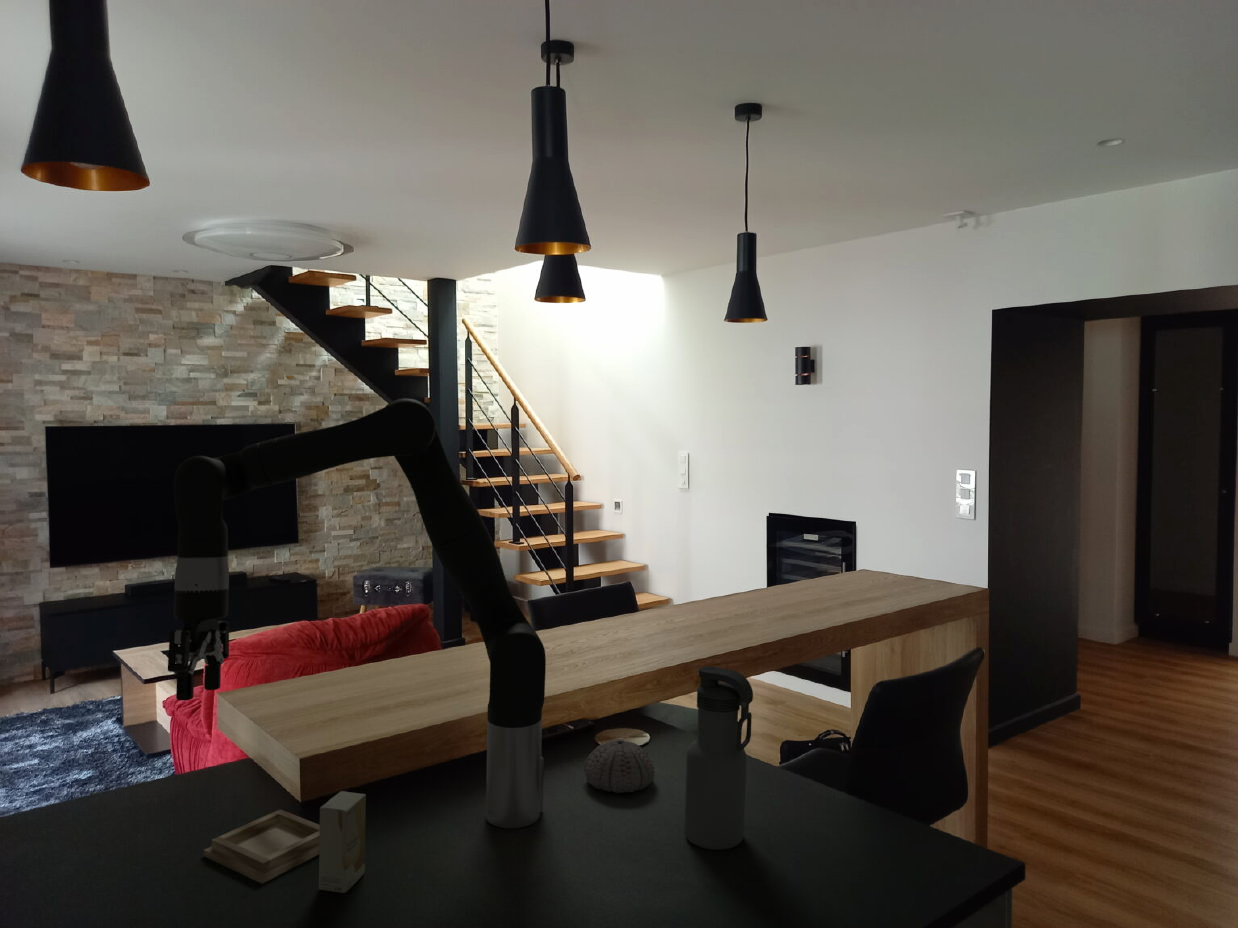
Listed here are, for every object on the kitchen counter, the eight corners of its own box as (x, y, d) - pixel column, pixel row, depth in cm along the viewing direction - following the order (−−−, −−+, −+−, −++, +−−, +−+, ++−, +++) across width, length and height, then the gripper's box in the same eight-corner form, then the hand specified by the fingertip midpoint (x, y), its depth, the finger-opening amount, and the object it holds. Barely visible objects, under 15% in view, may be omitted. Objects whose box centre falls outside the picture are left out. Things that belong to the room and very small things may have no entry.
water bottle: (753, 831, 147) (759, 667, 145) (735, 858, 138) (741, 684, 136) (696, 818, 151) (701, 659, 149) (675, 843, 142) (680, 674, 141)
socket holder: (281, 820, 147) (281, 806, 147) (338, 843, 139) (338, 828, 139) (203, 855, 135) (203, 840, 135) (262, 883, 128) (262, 867, 127)
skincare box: (345, 894, 125) (345, 811, 124) (317, 890, 126) (317, 808, 125) (366, 871, 132) (367, 792, 131) (340, 867, 132) (340, 789, 132)
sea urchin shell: (572, 775, 168) (573, 735, 167) (634, 764, 174) (635, 724, 173) (602, 804, 156) (603, 760, 155) (668, 791, 162) (669, 749, 161)
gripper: (203, 590, 127) (200, 703, 126) (246, 583, 141) (244, 686, 140) (152, 590, 127) (148, 704, 126) (200, 584, 141) (197, 686, 140)
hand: (199, 694), depth 133 cm, fingers open, 8 cm apart
